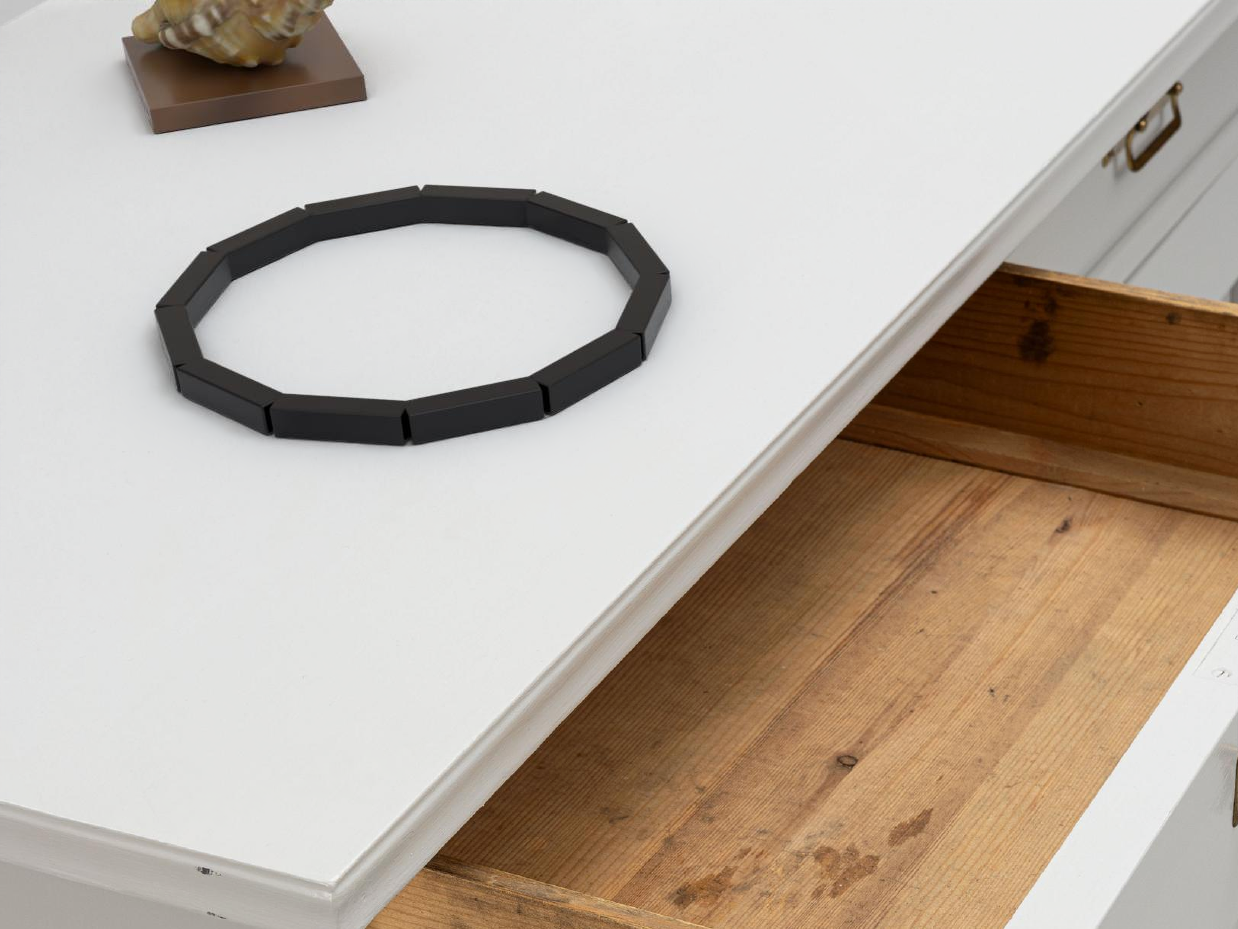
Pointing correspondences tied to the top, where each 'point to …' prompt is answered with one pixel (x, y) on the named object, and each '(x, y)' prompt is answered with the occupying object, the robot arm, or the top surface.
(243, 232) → the burner ring
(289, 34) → the seashell
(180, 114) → the walnut board
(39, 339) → the top surface
